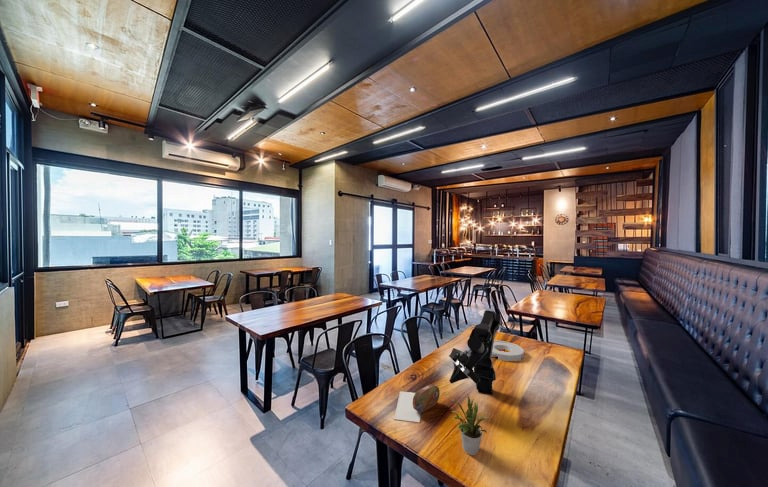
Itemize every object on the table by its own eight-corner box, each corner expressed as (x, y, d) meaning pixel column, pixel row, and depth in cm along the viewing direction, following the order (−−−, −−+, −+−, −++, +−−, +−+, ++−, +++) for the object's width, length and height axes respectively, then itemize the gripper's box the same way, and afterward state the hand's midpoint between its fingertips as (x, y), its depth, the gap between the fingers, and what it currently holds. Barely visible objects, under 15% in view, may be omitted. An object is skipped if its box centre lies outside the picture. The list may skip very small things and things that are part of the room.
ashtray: (531, 362, 162) (531, 355, 162) (491, 361, 162) (491, 355, 162) (513, 346, 185) (513, 340, 185) (478, 346, 186) (478, 340, 186)
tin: (416, 416, 112) (417, 395, 111) (410, 412, 114) (411, 392, 114) (439, 402, 122) (440, 383, 121) (433, 399, 124) (435, 380, 124)
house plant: (444, 431, 104) (444, 387, 103) (481, 432, 103) (482, 388, 103) (452, 462, 90) (453, 412, 89) (495, 463, 89) (497, 413, 89)
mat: (421, 394, 128) (421, 393, 128) (419, 422, 108) (419, 422, 108) (400, 391, 130) (400, 391, 130) (394, 419, 110) (394, 419, 110)
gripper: (453, 334, 128) (430, 360, 127) (473, 351, 110) (446, 381, 108) (468, 350, 130) (446, 376, 128) (491, 369, 112) (465, 399, 110)
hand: (450, 382), depth 119 cm, fingers closed
